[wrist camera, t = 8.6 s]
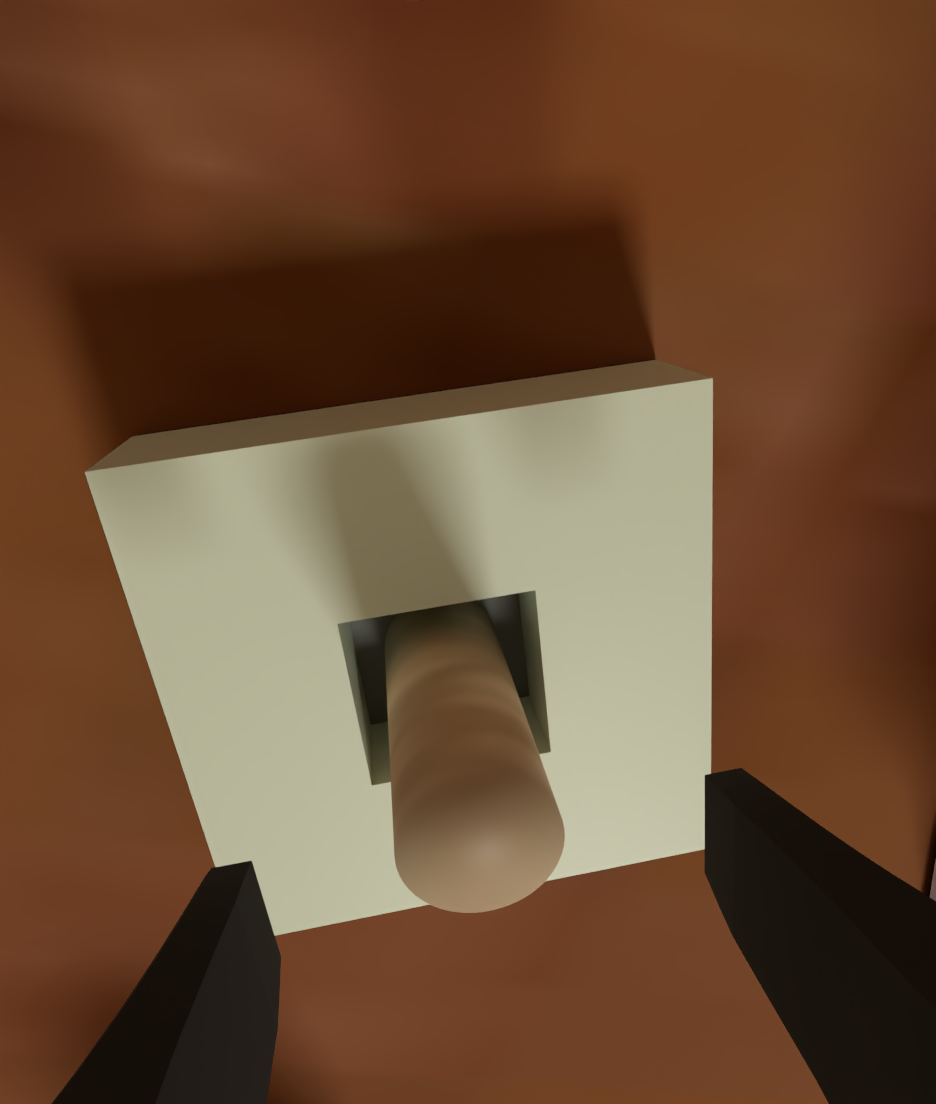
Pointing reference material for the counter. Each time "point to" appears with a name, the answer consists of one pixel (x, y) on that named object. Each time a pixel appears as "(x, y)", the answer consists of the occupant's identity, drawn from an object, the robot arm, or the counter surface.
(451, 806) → the dowel
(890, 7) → the counter surface
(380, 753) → the hole block
